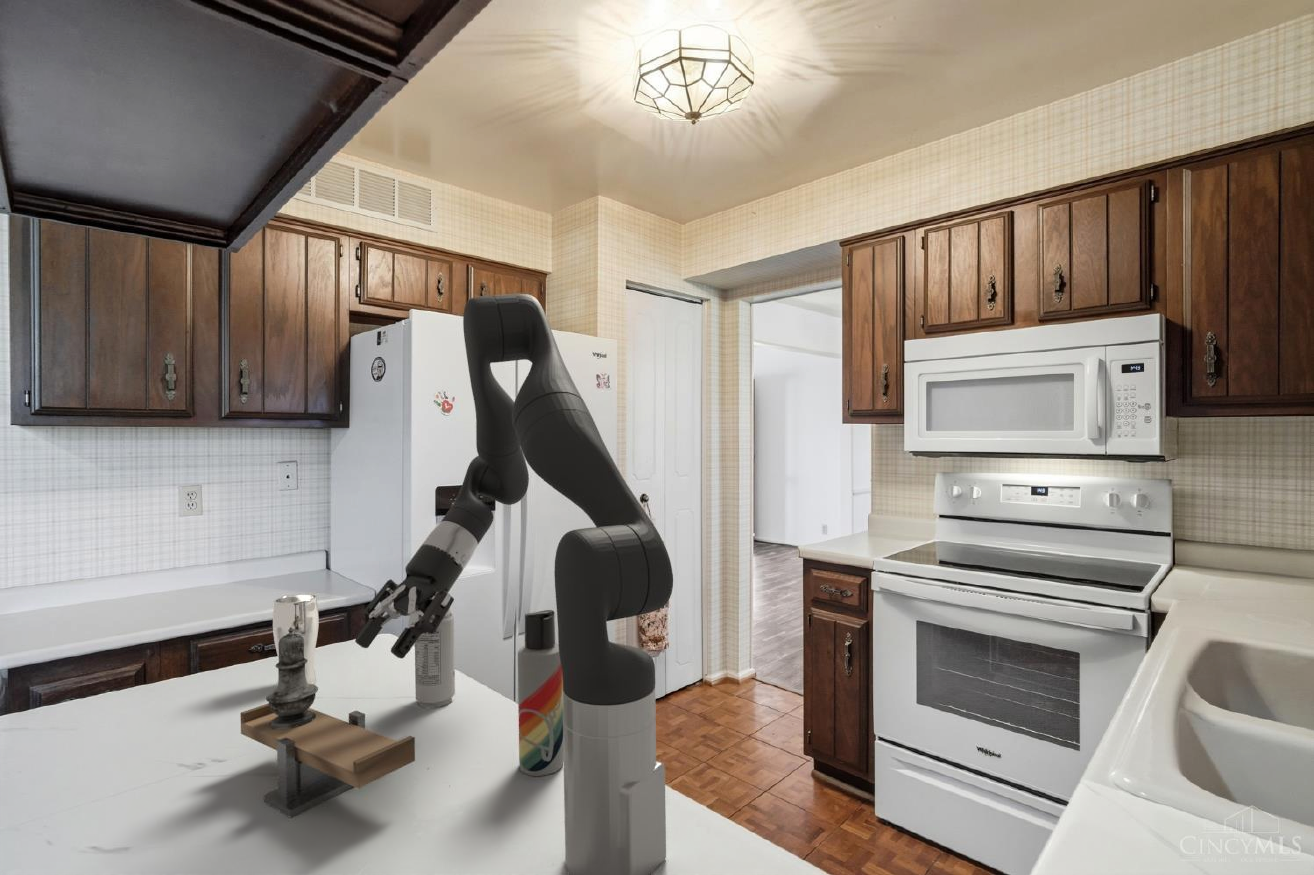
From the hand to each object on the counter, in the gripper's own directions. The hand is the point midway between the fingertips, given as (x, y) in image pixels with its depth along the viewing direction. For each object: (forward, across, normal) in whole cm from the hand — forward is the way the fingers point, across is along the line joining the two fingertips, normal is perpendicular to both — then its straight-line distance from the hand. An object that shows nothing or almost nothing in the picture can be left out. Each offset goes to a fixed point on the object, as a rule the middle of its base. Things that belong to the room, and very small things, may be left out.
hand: (377, 650), depth 92 cm
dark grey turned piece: (+12, -1, -4) cm, 13 cm away
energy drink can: (0, -3, +18) cm, 18 cm away
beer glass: (+6, -30, +12) cm, 33 cm away
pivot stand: (+17, +7, 0) cm, 18 cm away
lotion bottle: (+4, +26, +13) cm, 29 cm away
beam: (+14, +7, -3) cm, 15 cm away
